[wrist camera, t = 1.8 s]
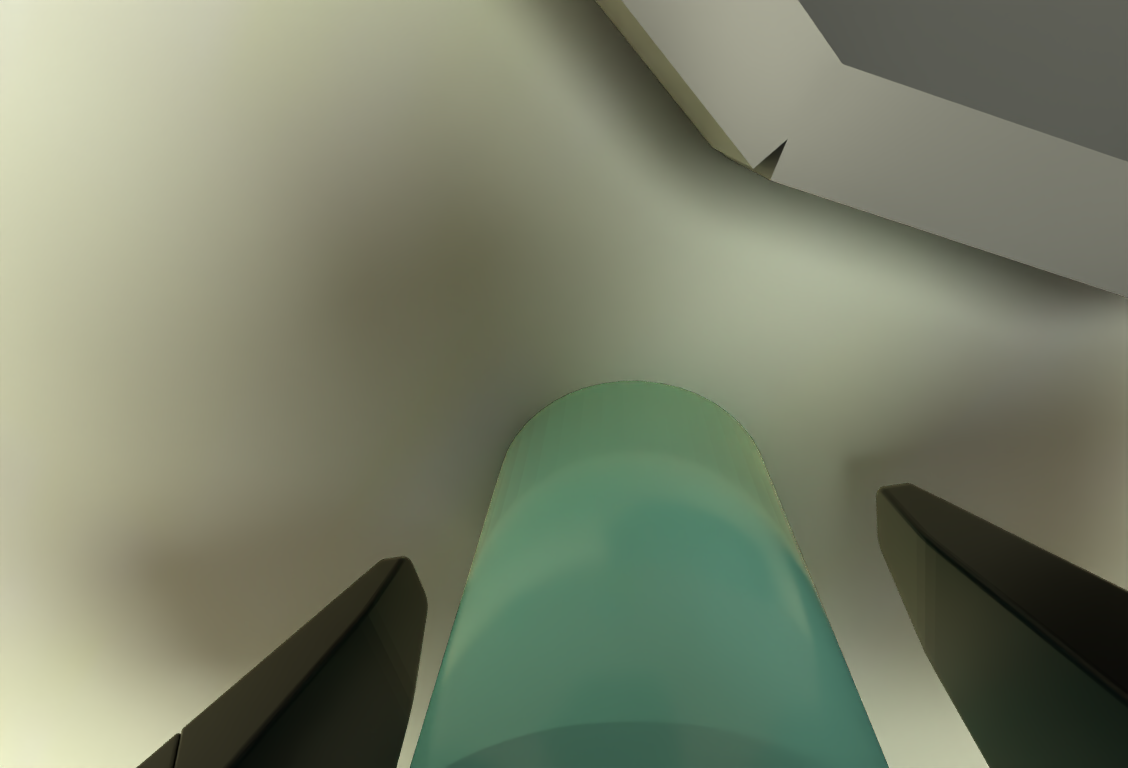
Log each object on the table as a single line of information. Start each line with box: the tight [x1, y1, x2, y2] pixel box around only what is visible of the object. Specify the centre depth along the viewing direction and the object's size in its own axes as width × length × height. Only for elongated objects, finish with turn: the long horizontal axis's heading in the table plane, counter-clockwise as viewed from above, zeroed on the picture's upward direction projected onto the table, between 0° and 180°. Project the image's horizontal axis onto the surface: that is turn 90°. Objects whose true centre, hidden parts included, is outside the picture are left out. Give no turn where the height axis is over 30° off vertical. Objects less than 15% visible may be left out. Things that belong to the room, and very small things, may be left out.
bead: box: [410, 381, 889, 768], centre depth 8 cm, size 4×4×6 cm
